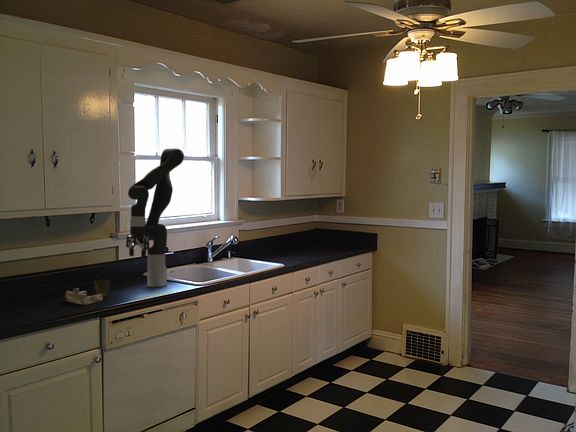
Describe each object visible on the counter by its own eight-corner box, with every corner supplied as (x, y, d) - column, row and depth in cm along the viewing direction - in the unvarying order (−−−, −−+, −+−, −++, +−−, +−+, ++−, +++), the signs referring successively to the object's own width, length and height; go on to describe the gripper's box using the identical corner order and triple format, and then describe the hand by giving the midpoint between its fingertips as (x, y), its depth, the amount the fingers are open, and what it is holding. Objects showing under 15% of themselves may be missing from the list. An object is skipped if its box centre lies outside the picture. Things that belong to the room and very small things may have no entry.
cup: (104, 294, 276) (104, 278, 275) (113, 296, 271) (113, 280, 270) (91, 297, 270) (90, 280, 269) (99, 299, 265) (99, 282, 265)
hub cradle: (84, 297, 270) (84, 283, 269) (102, 300, 263) (102, 286, 262) (65, 301, 260) (64, 287, 260) (83, 305, 253) (83, 290, 253)
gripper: (153, 225, 284) (152, 257, 285) (133, 224, 292) (133, 255, 292) (142, 226, 278) (141, 258, 278) (122, 224, 285) (122, 256, 286)
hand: (137, 256), depth 285 cm, fingers open, 8 cm apart
